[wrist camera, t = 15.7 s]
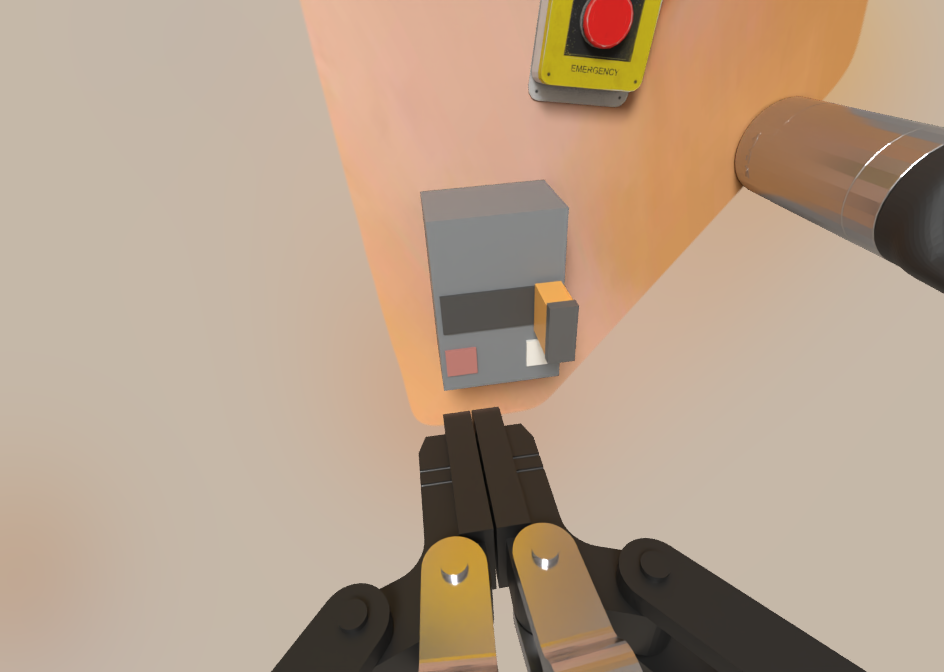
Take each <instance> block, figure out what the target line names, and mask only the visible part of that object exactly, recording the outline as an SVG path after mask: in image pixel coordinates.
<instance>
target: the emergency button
mask: <svg viewBox="0 0 944 672" xmlns="http://www.w3.org/2000/svg"><path fill="white" fill-rule="evenodd" d="M661 4H662V0H540V5H539V13H538V20H537V27H536V34H535V41H534V48H533V55H532V62H531V70H530V77H529V84H528V90H529V94H530V96H531V98H533V99H535V100H537V101H548V102H560V103H572V104H584V105H595V106H607V107H618V106H621V105H622V104H623V103H624V102H625V101H626V98H627V96H628V93H629V92H631V91H635V90H636V89H638V88H639V87H640V85H641V83H642V79H643V75H644V71H645V67H646V63H647V59H648V56H649V52H650V48H651V44H652V40H653V36H654V32H655V28H656V24H657V20H658V16H659V12H660V8H661Z"/></svg>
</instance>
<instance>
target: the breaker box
mask: <svg viewBox="0 0 944 672" xmlns="http://www.w3.org/2000/svg"><path fill="white" fill-rule="evenodd" d="M420 194H421V202H422V211H423V220H424V229H425V237H426V246H427V255H428V264H429V272H430V281H431V290H432V299H433V307H434V316H435V325H436V334H437V343H438V350H439V357H440V364H441V371H442V378H443V385H444V391H447V390H454V389H462V388H469V387H477V386H484V385H492V384H499V383H507V382H514V381H522V380H529V379H537V378H545V377H552V376H559V364H560V363H554V364H547V361H546V359H545V354H544V352H543V349H542V347H541V345H540V343H539V341H538V338H537V336H536V334H535V332H534V302H535V284H537V283H546V282H554V281H561V282H562V283H563V285H564V280H565V263H566V246H567V229H568V212H569V207H568V206H567V205H566V204H565V203H564V202H563V201H562V199H561V198H560V197H559V196H558V195H557V194H556V193H555V192H554V190H553V189H552V188H551V187H550V186H549V185H548V184H547V183H546V182H545V180H536V181H526V182H516V183H506V184H495V185H485V186H475V187H465V188H454V189H444V190H434V191H423V192H420Z"/></svg>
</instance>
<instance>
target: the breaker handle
mask: <svg viewBox="0 0 944 672" xmlns="http://www.w3.org/2000/svg"><path fill="white" fill-rule="evenodd" d="M578 311H579V305H578V303H577V302H576V300H573V299H572V297H571V296H570V294H569V293H568V291H567V290H566V288H565V286H564V285H563V283H562V282H561V281H554V282H546V283H537V284H535V302H534V332H535V334H536V336H537V338H538V341H539V343H540V345H541V347H542V349H543V352H544V354H545V359H546V361H547V364H554V363H561V362H569V361H575V349H576V336H577V324H578Z"/></svg>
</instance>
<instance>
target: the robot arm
mask: <svg viewBox="0 0 944 672" xmlns="http://www.w3.org/2000/svg"><path fill="white" fill-rule="evenodd" d="M735 169H736V173H737V177H738V179H739V181H740V182H741V184H742V185H743V186H744V187H746V188H747V189H748V190H750V191H752V192H754V193H756V194H758V195H760V196H762V197H764V198H766V199H768V200H770V201H771V202H773V203H775V204H778V205H779V206H781V207H783V208H785V209H787V210H789V211H791V212H793V213H795V214H797V215H799V216H801V217H803V218H805V219H807V220H809V221H811V222H813V223H815V224H817V225H819V226H820V227H822V228H824V229H826V230H828V231H830V232H832V233H834V234H836V235H838V236H840V237H842V238H844V239H846V240H848V241H850V242H852V243H854V244H856V245H858V246H860V247H862V248H864V249H866V250H868V251H870V252H872V253H874V254H876V255H878V256H880V257H882V258H884V259H886V260H888V261H890V262H892V263H894V264H896V265H898V266H899V267H901V268H902V269H903V270H904V271H906V272H907V273H908V274H910V275H911V276H913V277H914V278H916V279H918V280H920V281H922V282H924V283H925V284H927V285H929V286H931V287H933V288H935V289H936V290H938V291H940V292H942V293H944V127H939V126H935V125H930V124H926V123H921V122H916V121H912V120H907V119H903V118H898V117H893V116H889V115H884V114H880V113H875V112H870V111H866V110H861V109H857V108H852V107H847V106H843V105H838V104H834V103H830V102H825V101H820V100H815V99H811V98H806V97H800V96H798V97H789V98H786V99H782V100H780V101H778V102H776V103H774V104H772V105H770V106H769V107H768V108H766V109H765V110H764V111H762V112H761V113H760V114H759V115H758V116H757V117H756V118H755V119H754V120H753V121H752V122H751V124H750V125H749V127H748V128H747V129H746V131H745V132H744V134H743V136H742V138H741V140H740V143H739V146H738V149H737V152H736V158H735ZM443 418H444V427H445V434H444V435H438V436H430V437H426V438H425V440H424V442H423V445H422V447H421V449H420V452H419V464H420V480H421V494H422V510H423V523H424V524H423V525H424V539H425V540H424V550H423V553H422V556H421V557H420V559H419V561H418V563H417V564H416V565H415V567H414V568H413V569H412V570H411V571H410V572H409V573H408V574H406V575H405V576H403V577H402V578H400V579H398V580H396V581H394V582H392V583H390V584H389V585H387V586H385V587H383V588H381V589H378V588H377V587H375V586H373V585H370V584H363V583H359V584H353V585H349V586H347V587H344V588H342V589H341V590H339V591H338V592H336V593H335V594H334V595H333V596H332V597H331V598H330V599H329V600H328V601H327V602H326V604H325V605H324V606H323V607H322V608H321V610H320V611H319V612H318V614H317V615H316V616H315V617H314V619H313V620H312V621H311V622H310V624H309V625H308V626H307V627H306V629H305V630H304V631H303V632H302V634H301V635H300V636H299V637H298V639H297V640H296V641H295V643H294V644H293V645H292V646H291V648H290V649H289V650H288V651H287V653H286V654H285V655H284V656H283V658H282V659H281V660H280V662H279V663H278V664H277V665H276V667H275V668H274V669H273V671H271V672H498V667H497V659H496V648H495V637H494V627H493V623H494V615H493V614H494V612H493V595H492V589H496V574H497V579H498V584H499V588H503V587H509V589H510V594H511V599H512V604H513V619H514V624H515V628H516V631H517V635H518V639H519V642H520V646H521V649H522V653H523V657H524V660H525V664H526V667H527V671H528V672H866V671H865V670H863V669H862V668H860V667H858V666H857V665H855V664H854V663H852V662H851V661H849V660H848V659H846V658H844V657H843V656H841V655H839V654H838V653H837V652H835V651H833V650H832V649H830V648H829V647H827V646H826V645H824V644H822V643H821V642H819V641H818V640H816V639H815V638H813V637H812V636H810V635H808V634H807V633H805V632H804V631H802V630H801V629H799V628H798V627H796V626H794V625H793V624H791V623H790V622H788V621H787V620H785V619H783V618H782V617H780V616H779V615H777V614H776V613H774V612H772V611H771V610H769V609H768V608H766V607H764V606H763V605H762V604H760V603H759V602H757V601H755V600H754V599H752V598H751V597H749V596H747V595H746V594H744V593H743V592H741V591H740V590H738V589H736V588H735V587H733V586H732V585H730V584H729V583H727V582H726V581H724V580H723V579H721V578H719V577H718V576H716V575H715V574H713V573H712V572H710V571H708V570H707V569H705V568H704V567H702V566H701V565H699V564H697V563H696V562H694V561H693V560H691V559H690V558H688V557H687V556H685V555H684V554H682V553H680V552H679V551H677V550H676V549H674V548H672V547H671V546H669V545H668V544H666V543H664V542H661V541H659V540H655V539H650V538H641V539H636V540H633V541H631V542H629V543H628V544H627V545H626V546H625V547H624V548H623V549H622V550H618V549H611V548H605V547H599V546H594V545H590V544H588V543H585V542H583V541H581V540H579V539H578V538H576V537H575V536H573V535H572V534H571V533H570V532H569V531H568V530H567V529H566V527H565V526H564V524H563V522H562V520H561V518H560V515H559V512H558V509H557V506H556V503H555V500H554V497H553V494H552V491H551V488H550V485H549V482H548V479H547V476H546V473H545V470H544V469H543V464H542V461H541V458H540V456H539V452H538V449H537V446H536V443H535V440H534V437H533V436H532V435H531V434H530V433H529V432H528V431H527V430H526V429H525V428H524V426H523V425H522V424H514V425H507V426H504V423H503V420H502V416H501V412H500V409H499V407H493V408H486V409H479V410H472V418H471V414H470V411H465V412H458V413H450V414H443ZM495 569H496V570H495Z"/></svg>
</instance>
